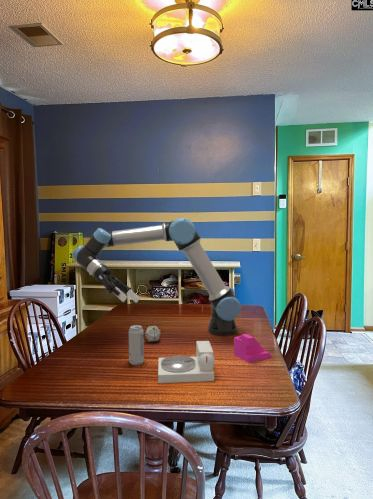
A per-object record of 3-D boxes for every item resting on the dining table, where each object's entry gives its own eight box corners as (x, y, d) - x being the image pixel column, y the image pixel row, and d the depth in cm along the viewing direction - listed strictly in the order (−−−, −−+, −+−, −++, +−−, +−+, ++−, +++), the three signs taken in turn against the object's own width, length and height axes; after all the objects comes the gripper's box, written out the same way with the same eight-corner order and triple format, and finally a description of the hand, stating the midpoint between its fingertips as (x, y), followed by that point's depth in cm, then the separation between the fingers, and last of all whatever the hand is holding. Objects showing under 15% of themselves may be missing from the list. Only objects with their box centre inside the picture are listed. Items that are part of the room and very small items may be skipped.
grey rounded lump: (155, 350, 167) (158, 338, 161) (139, 343, 168) (141, 330, 162) (163, 336, 174) (166, 324, 168) (147, 329, 175) (150, 317, 169)
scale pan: (193, 357, 140) (193, 354, 140) (197, 371, 127) (197, 368, 127) (161, 359, 139) (161, 356, 139) (161, 373, 126) (161, 369, 126)
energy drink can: (130, 360, 146) (130, 324, 145) (145, 360, 146) (144, 324, 145) (127, 365, 140) (127, 329, 139) (142, 365, 140) (142, 329, 139)
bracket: (248, 363, 142) (248, 338, 142) (234, 354, 152) (234, 331, 151) (271, 357, 148) (271, 333, 147) (256, 349, 157) (256, 327, 156)
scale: (209, 363, 142) (209, 339, 141) (215, 380, 126) (215, 353, 125) (158, 365, 141) (158, 340, 140) (158, 383, 125) (157, 355, 124)
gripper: (107, 279, 172) (138, 307, 166) (79, 274, 149) (113, 306, 142) (116, 267, 172) (147, 294, 165) (89, 260, 148) (124, 291, 142)
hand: (132, 300), depth 154 cm, fingers open, 13 cm apart
